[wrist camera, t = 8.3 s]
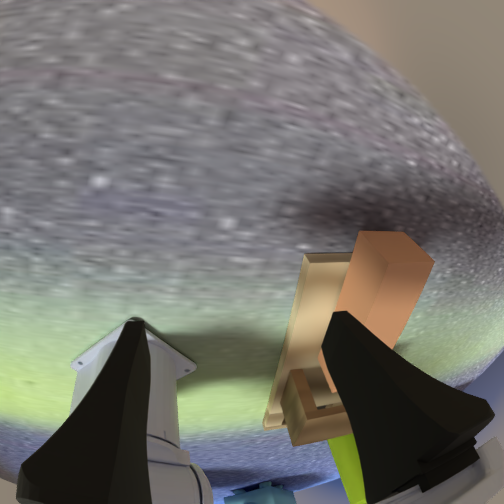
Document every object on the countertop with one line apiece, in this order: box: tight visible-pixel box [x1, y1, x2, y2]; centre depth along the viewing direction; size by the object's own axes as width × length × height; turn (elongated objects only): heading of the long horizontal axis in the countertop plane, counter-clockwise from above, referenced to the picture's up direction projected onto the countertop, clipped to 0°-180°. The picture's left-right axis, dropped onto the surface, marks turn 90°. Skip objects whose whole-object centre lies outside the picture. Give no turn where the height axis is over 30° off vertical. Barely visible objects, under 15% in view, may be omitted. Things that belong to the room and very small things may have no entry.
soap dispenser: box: [327, 433, 367, 504], centre depth 35 cm, size 6×7×20 cm
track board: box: [262, 253, 353, 431], centre depth 29 cm, size 25×10×1 cm, turn 175°
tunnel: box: [280, 369, 353, 447], centre depth 28 cm, size 6×8×6 cm
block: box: [318, 231, 435, 393], centre depth 22 cm, size 13×4×4 cm, turn 175°
